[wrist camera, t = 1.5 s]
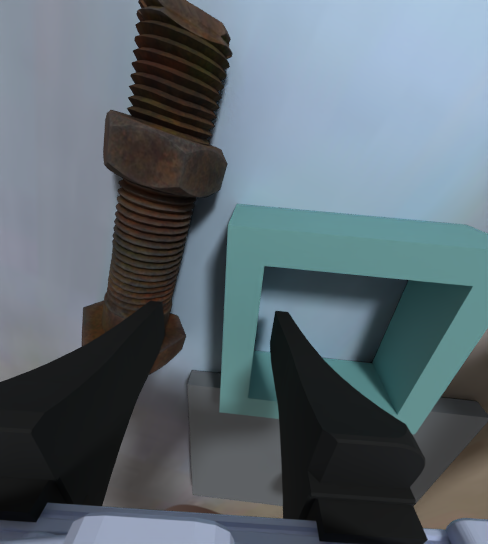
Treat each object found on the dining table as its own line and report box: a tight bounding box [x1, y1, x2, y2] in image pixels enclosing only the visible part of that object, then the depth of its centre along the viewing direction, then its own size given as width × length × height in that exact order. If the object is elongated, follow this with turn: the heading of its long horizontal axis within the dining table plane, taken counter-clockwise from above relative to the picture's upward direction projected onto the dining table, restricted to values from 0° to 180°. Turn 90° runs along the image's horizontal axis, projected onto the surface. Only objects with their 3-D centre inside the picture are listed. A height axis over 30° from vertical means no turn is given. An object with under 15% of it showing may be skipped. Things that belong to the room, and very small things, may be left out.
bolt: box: [82, 0, 232, 374], centre depth 12 cm, size 6×5×15 cm
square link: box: [219, 204, 488, 434], centre depth 13 cm, size 11×11×4 cm
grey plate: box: [187, 370, 488, 506], centre depth 19 cm, size 20×16×6 cm
